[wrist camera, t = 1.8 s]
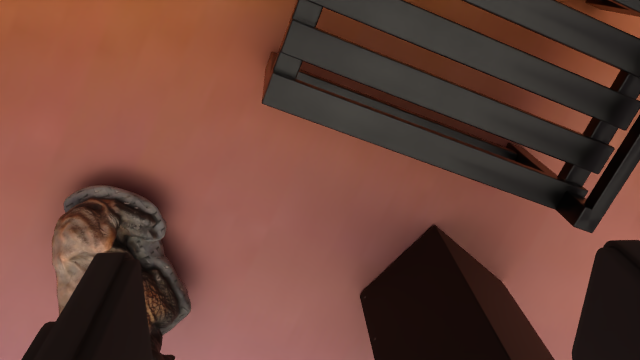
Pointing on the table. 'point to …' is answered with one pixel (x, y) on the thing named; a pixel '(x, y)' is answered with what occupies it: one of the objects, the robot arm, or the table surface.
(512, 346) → the tissue box
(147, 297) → the animal figurine
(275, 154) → the table surface
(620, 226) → the table surface
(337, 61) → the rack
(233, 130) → the table surface
